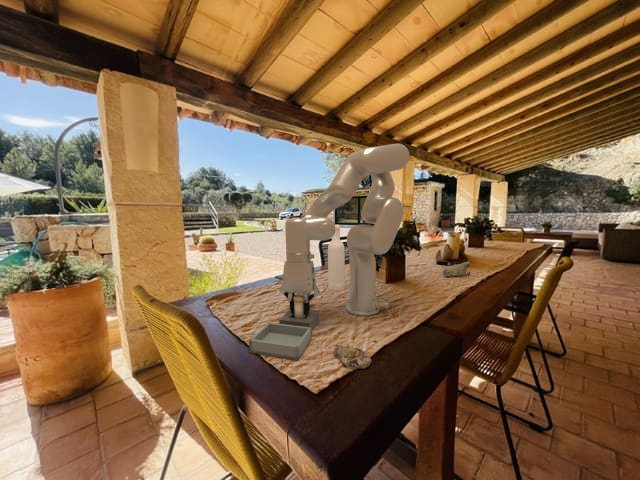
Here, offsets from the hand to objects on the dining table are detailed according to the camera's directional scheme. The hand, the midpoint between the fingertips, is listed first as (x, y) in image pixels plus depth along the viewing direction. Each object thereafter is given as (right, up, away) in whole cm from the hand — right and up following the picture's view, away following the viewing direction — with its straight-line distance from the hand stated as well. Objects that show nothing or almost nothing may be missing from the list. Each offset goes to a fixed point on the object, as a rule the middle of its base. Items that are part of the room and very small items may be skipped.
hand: (299, 312), depth 84 cm
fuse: (0, -4, +1) cm, 5 cm away
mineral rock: (+15, -7, -18) cm, 25 cm away
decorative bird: (+80, +4, +55) cm, 97 cm away
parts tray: (-4, -6, -12) cm, 14 cm away
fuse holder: (0, -4, +1) cm, 4 cm away
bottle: (+14, 0, +38) cm, 40 cm away
